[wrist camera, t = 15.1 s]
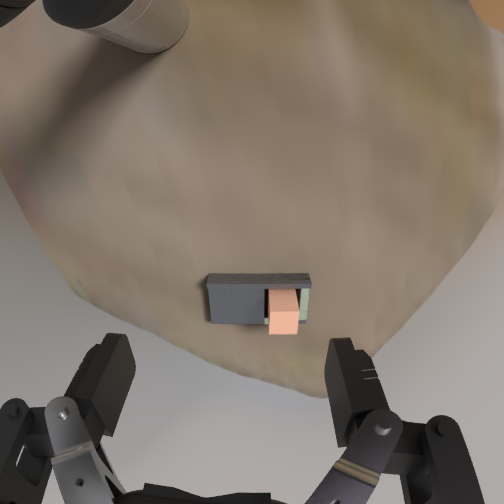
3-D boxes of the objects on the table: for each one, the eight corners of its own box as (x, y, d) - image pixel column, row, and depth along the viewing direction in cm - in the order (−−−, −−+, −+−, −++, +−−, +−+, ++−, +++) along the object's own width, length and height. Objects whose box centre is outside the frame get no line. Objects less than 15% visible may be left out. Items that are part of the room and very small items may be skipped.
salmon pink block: (268, 284, 49) (270, 311, 43) (294, 284, 49) (299, 311, 43) (267, 305, 51) (268, 334, 45) (292, 306, 51) (297, 333, 44)
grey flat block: (209, 273, 48) (206, 283, 46) (308, 273, 48) (311, 283, 45) (212, 316, 52) (210, 327, 49) (304, 315, 52) (306, 327, 49)
